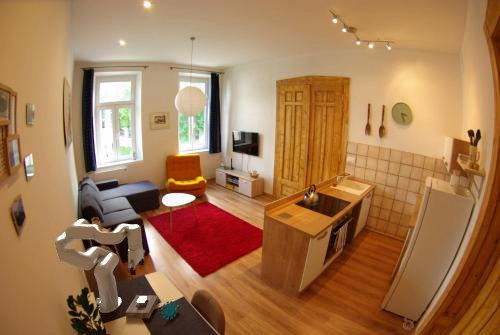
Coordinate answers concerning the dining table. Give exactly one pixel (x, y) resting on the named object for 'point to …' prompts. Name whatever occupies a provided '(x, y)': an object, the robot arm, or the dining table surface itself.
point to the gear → (169, 310)
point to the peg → (142, 302)
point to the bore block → (142, 312)
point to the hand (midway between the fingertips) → (137, 269)
